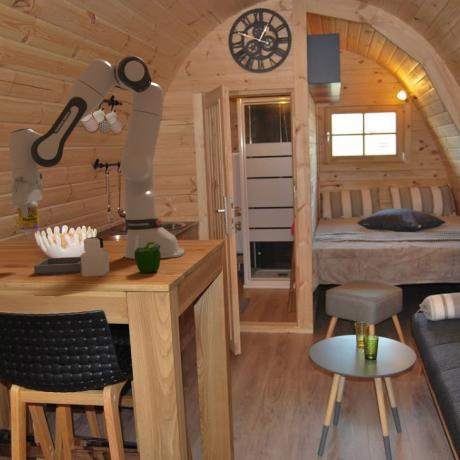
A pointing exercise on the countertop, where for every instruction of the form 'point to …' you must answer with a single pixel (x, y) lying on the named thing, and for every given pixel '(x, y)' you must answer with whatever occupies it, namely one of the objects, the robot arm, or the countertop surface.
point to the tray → (58, 266)
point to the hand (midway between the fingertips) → (30, 215)
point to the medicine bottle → (94, 258)
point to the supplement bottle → (29, 218)
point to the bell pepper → (148, 258)
